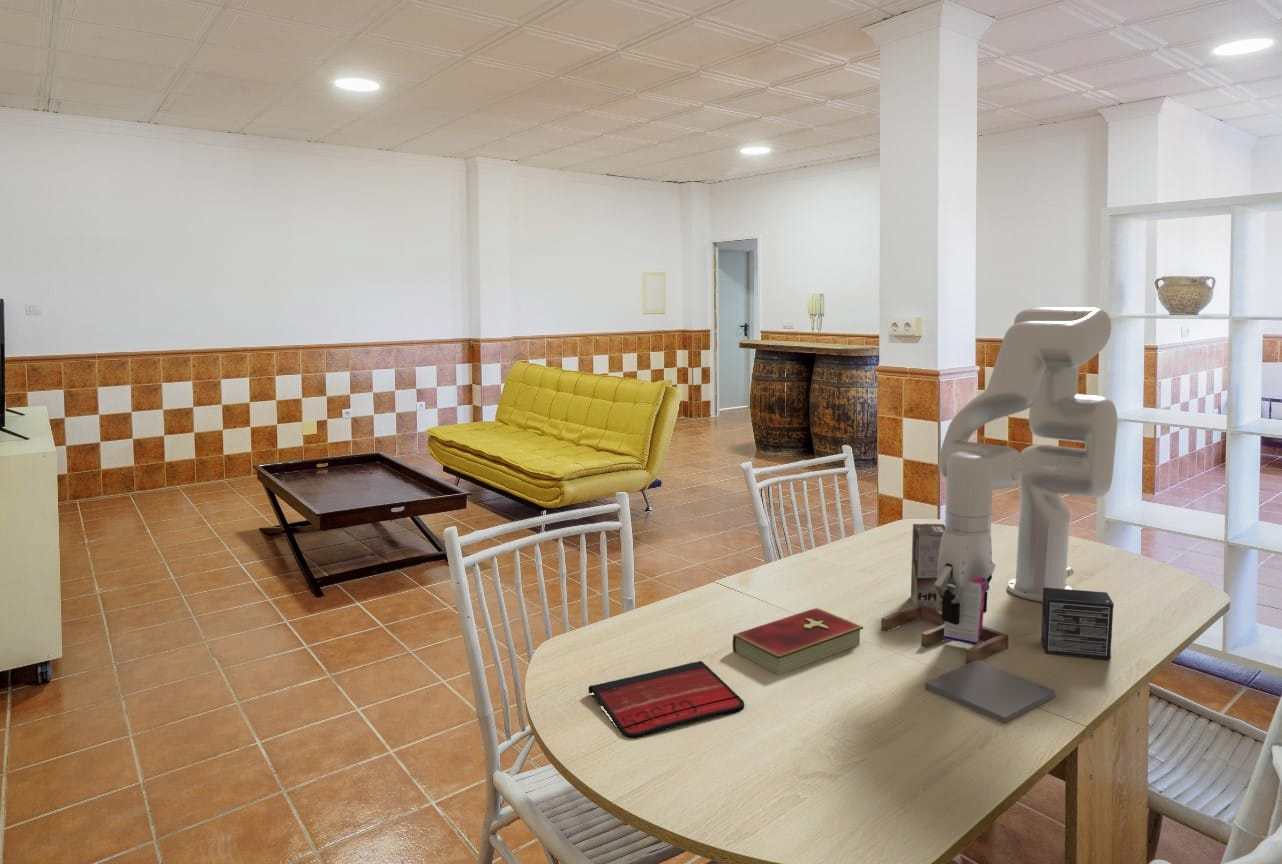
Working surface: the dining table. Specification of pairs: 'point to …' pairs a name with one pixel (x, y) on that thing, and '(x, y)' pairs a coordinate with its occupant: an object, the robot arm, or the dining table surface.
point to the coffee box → (926, 564)
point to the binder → (666, 699)
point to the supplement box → (968, 613)
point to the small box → (1077, 623)
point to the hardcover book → (797, 640)
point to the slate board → (990, 690)
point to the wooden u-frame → (987, 648)
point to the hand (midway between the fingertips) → (964, 615)
